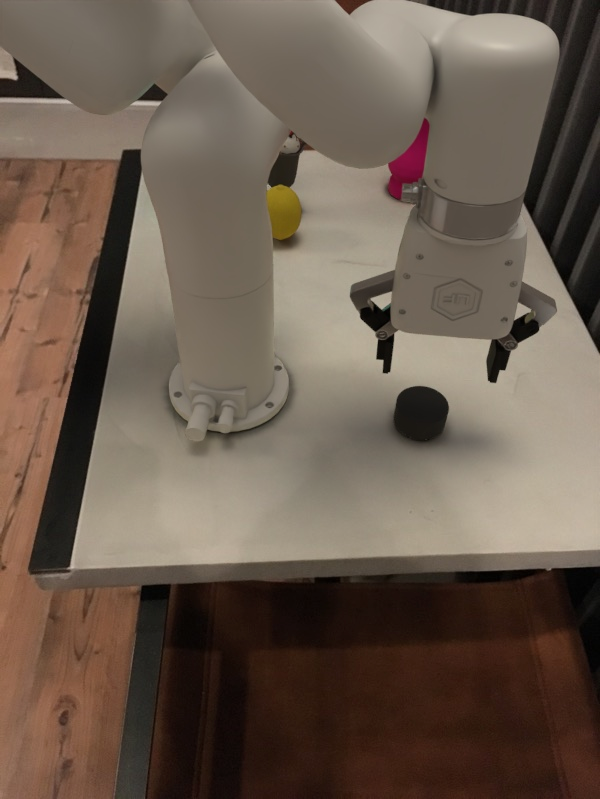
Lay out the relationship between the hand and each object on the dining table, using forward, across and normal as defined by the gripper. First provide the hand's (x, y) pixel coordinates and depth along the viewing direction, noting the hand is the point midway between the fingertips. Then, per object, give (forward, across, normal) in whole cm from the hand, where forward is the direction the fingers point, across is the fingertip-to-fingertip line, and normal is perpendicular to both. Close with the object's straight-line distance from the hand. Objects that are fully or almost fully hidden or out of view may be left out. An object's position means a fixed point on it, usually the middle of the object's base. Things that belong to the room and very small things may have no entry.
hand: (438, 368), depth 64 cm
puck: (+8, -1, 0) cm, 8 cm away
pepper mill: (+8, -3, +47) cm, 48 cm away
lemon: (+8, -20, +31) cm, 38 cm away
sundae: (+8, -21, +38) cm, 44 cm away
